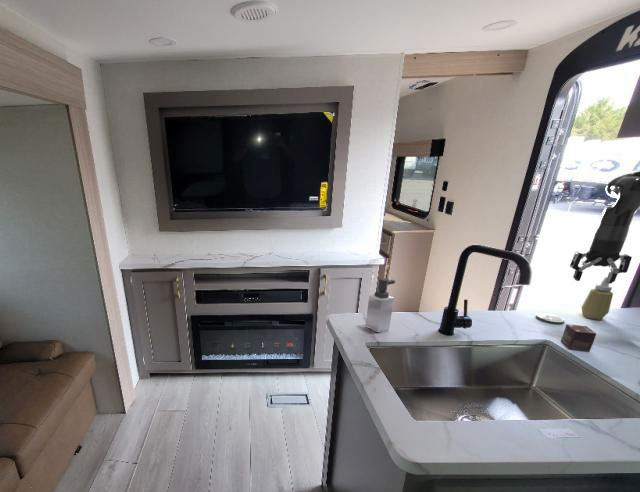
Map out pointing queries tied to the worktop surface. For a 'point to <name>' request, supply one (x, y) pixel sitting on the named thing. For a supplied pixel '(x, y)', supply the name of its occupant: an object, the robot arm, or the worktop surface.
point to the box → (578, 337)
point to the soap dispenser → (380, 307)
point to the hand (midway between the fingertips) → (592, 281)
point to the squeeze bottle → (598, 301)
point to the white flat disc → (550, 318)
